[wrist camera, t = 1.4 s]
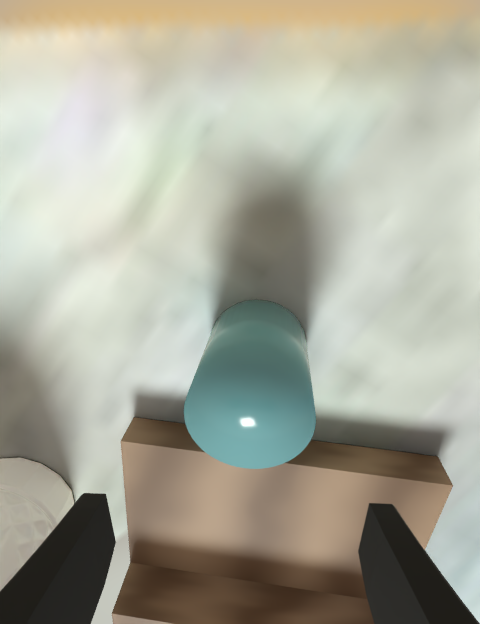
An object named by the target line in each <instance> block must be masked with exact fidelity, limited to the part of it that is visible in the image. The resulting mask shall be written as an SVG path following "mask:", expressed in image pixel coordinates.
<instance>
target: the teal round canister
mask: <svg viewBox="0 0 480 624" xmlns="http://www.w3.org/2000/svg"><path fill="white" fill-rule="evenodd" d="M184 419H185V424H186V427H187V429H188V432H189V434H190V435H191V437H192V439H193V440H194V441H195V443H196V444H197V445H198V446H199V447H200V448H201V449H202V450H203V451H205V452H206V453H207V454H208V455H210V456H211V457H213V458H215V459H217V460H219V461H220V462H223V463H225V464H228V465H231V466H235V467H240V468H247V469H263V468H270V467H274V466H278V465H281V464H283V463H285V462H288V461H290V460H291V459H293V458H294V457H296V456H297V455H298V454H300V453H301V452H302V451H303V450H304V449H305V448H306V446H307V445H308V444H309V442H310V440H311V438H312V436H313V434H314V430H315V425H316V414H315V406H314V399H313V391H312V383H311V376H310V368H309V361H308V353H307V346H306V338H305V333H304V330H303V328H302V326H301V324H300V322H299V321H298V319H297V318H296V317H295V316H294V315H293V314H292V313H291V312H290V311H289V310H288V309H286V308H284V307H283V306H281V305H279V304H276V303H274V302H270V301H265V300H248V301H243V302H240V303H237V304H235V305H233V306H231V307H230V308H228V309H227V310H226V311H225V312H223V313H222V314H221V316H220V317H219V318H218V320H217V321H216V323H215V325H214V327H213V330H212V332H211V335H210V337H209V340H208V343H207V345H206V348H205V350H204V353H203V356H202V358H201V361H200V363H199V366H198V369H197V371H196V374H195V376H194V379H193V381H192V384H191V387H190V389H189V392H188V394H187V397H186V400H185V404H184Z"/></svg>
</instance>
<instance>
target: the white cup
mask: <svg viewBox="0 0 480 624" xmlns="http://www.w3.org/2000/svg"><path fill="white" fill-rule="evenodd" d="M73 505H74V499H73V494H72V490H71V489H70V488H69V486H68V485H67V484H66V483H65V481H64V480H63V479H62V477H61V476H60V475H58V474H57V473H55V472H54V471H52V470H51V469H49V468H48V467H46V466H45V465H43V464H41V463H38V462H35V461H31V460H28V459H24V458H20V457H18V458H1V459H0V591H1V590H2V589H3V588H4V586H5V585H6V584H7V583H8V582H9V581H10V580H11V579H12V578H13V576H14V575H15V574H16V573H17V572H18V571H19V569H20V568H21V567H22V566H23V565H24V564H25V563H26V561H27V560H28V559H29V558H30V557H31V556H32V554H33V553H34V552H35V551H36V550H37V549H38V548H39V546H40V545H41V544H42V543H43V542H44V540H45V539H46V538H47V537H48V536H49V534H50V533H51V532H52V531H53V530H54V528H55V527H56V526H57V525H58V523H59V522H60V521H61V520H62V519H63V517H64V516H65V515H66V514H67V512H68V511H69V510H70V509H71V507H72V506H73Z"/></svg>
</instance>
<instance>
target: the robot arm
mask: <svg viewBox="0 0 480 624" xmlns="http://www.w3.org/2000/svg"><path fill="white" fill-rule="evenodd" d="M115 543H116V541H115V536H114V532H113V527H112V522H111V517H110V512H109V507H108V502H107V498H106V494H91V493H84V494H83V495H81V496H80V497H79V499H78V500H77V501H76V502H75V504H74V505H73V506H72V507H71V509H70V510H69V511H68V512H67V514H66V515H65V516H64V517H63V519H62V520H61V521H60V522H59V523H58V525H57V526H56V527H55V528H54V530H53V531H52V532H51V533H50V534H49V536H48V537H47V538H46V539H45V540H44V542H43V543H42V544H41V545H40V546H39V548H38V549H37V550H36V551H35V552H34V553H33V554H32V556H31V557H30V558H29V559H28V560H27V561H26V563H25V564H24V565H23V566H22V567H21V568H20V569H19V571H18V572H17V573H16V574H15V575H14V576H13V578H12V579H11V580H10V581H9V582H8V583H7V584H6V585H5V586H4V588H3V589H2V590H1V591H0V624H91V621H92V618H93V615H94V613H95V610H96V607H97V604H98V602H99V599H100V596H101V593H102V590H103V588H104V585H105V581H106V577H107V573H108V569H109V566H110V562H111V558H112V555H113V551H114V547H115ZM358 554H359V559H360V565H361V570H362V576H363V581H364V586H365V591H366V596H367V599H368V603H369V607H370V610H371V614H372V617H373V621H374V624H479V622H478V621H477V620H476V618H475V617H474V616H473V615H472V613H471V612H470V611H469V609H468V608H467V607H466V606H465V604H464V603H463V602H462V600H461V599H460V598H459V596H458V595H457V594H456V592H455V591H454V590H453V588H452V587H451V586H450V584H449V583H448V582H447V580H446V579H445V578H444V576H443V575H442V574H441V572H440V571H439V570H438V568H437V567H436V565H435V564H434V563H433V561H432V560H431V559H430V557H429V556H428V554H427V553H426V551H425V550H424V549H423V547H422V546H421V544H420V543H419V542H418V540H417V539H416V537H415V536H414V534H413V533H412V531H411V530H410V528H409V527H408V526H407V524H406V523H405V521H404V520H403V518H402V517H401V515H400V514H399V512H398V511H397V509H396V508H395V506H394V505H393V504H382V503H369V506H368V510H367V515H366V519H365V523H364V528H363V532H362V536H361V541H360V545H359V549H358Z"/></svg>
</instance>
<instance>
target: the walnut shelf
mask: <svg viewBox="0 0 480 624" xmlns="http://www.w3.org/2000/svg"><path fill="white" fill-rule="evenodd" d="M121 450H122V463H123V475H124V488H125V500H126V512H127V525H128V537H129V549H130V566H129V569H128V571H127V574H126V576H125V579H124V582H123V585H122V587H121V590H120V593H119V595H118V598H117V601H116V604H115V606H114V609H113V612H112V618H113V624H374V621H373V617H372V614H371V610H370V607H369V603H368V599H367V596H366V591H365V586H364V581H363V576H362V570H361V565H360V559H359V554H358V549H359V545H360V541H361V536H362V532H363V528H364V523H365V519H366V515H367V510H368V506H369V503H382V504H393V505H394V506H395V508H396V509H397V511H398V512H399V514H400V515H401V517H402V518H403V520H404V521H405V523H406V524H407V526H408V527H409V528H410V530H411V531H412V533H413V534H414V536H415V537H416V539H417V540H418V542H419V543H420V544H421V546H422V547H423V549H424V550H425V548H426V546H427V544H428V541H429V539H430V537H431V534H432V532H433V530H434V528H435V525H436V523H437V521H438V519H439V516H440V514H441V512H442V509H443V507H444V505H445V503H446V500H447V498H448V496H449V494H450V491H451V489H452V487H453V485H452V483H451V481H450V479H449V477H448V475H447V473H446V471H445V469H444V467H443V465H442V463H441V461H440V460H439V458H438V457H437V456H429V455H422V454H414V453H406V452H399V451H391V450H383V449H375V448H368V447H360V446H352V445H345V444H337V443H329V442H321V441H314V440H310V442H309V444H308V445H307V446H306V448H305V449H304V450H303V451H302V452H301V453H300V454H298V455H297V456H296V457H294V458H293V459H291V460H290V461H288V462H285V463H283V464H281V465H278V466H274V467H270V468H263V469H247V468H240V467H235V466H231V465H228V464H225V463H223V462H220V461H219V460H217V459H215V458H213V457H211V456H210V455H208V454H207V453H206V452H205V451H203V450H202V449H201V448H200V447H199V446H198V445H197V444H196V443H195V441H194V440H193V439H192V437H191V435H190V434H189V432H188V429H187V427H186V424H183V423H175V422H167V421H159V420H152V419H144V418H136V417H134V418H133V420H132V422H131V423H130V425H129V427H128V429H127V431H126V432H125V434H124V436H123V438H122V440H121Z"/></svg>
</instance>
